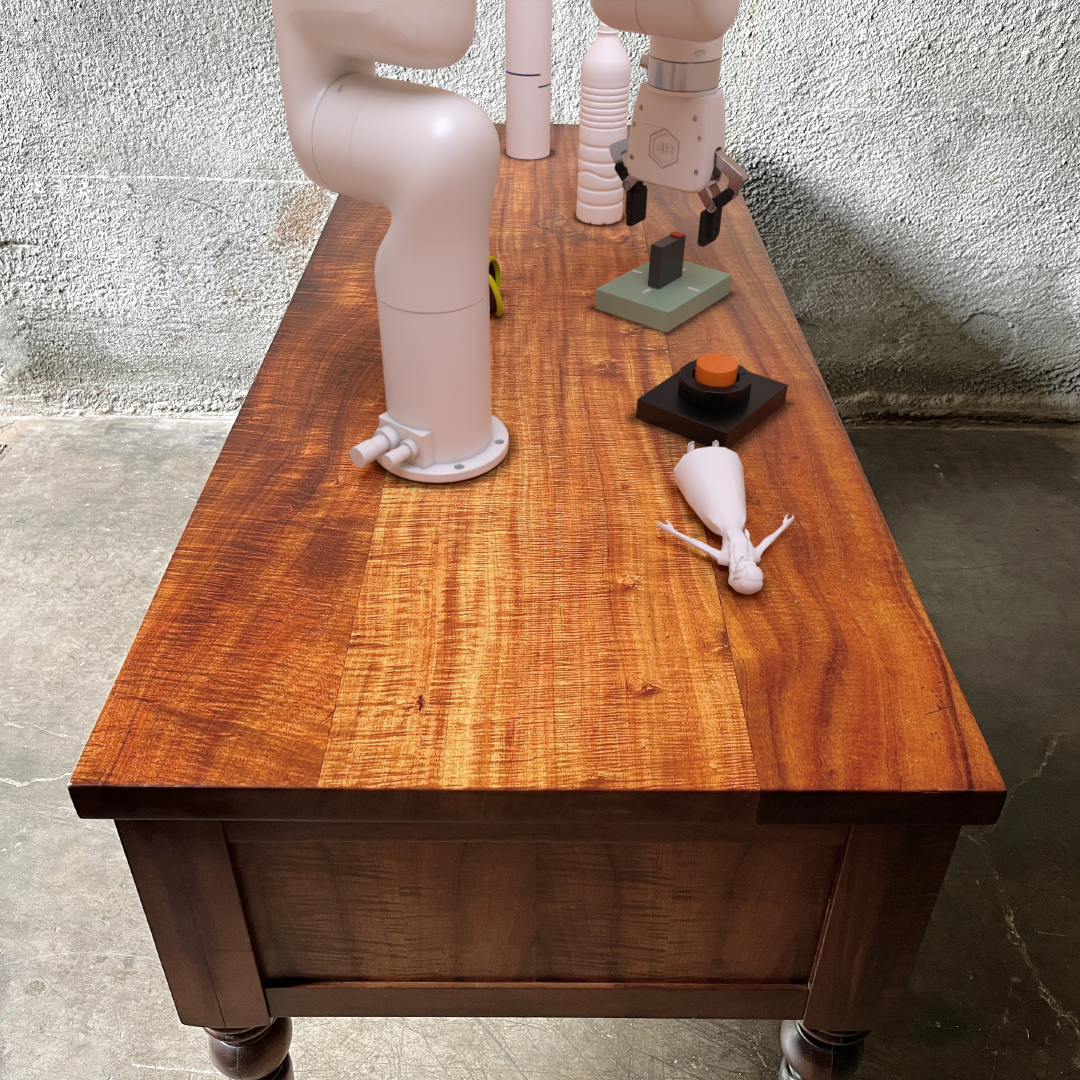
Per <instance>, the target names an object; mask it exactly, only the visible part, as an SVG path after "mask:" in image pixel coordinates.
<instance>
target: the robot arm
mask: <svg viewBox="0 0 1080 1080" xmlns="http://www.w3.org/2000/svg"><path fill="white" fill-rule="evenodd" d="M589 3H590V6H591V8H592V11H593V13H594V14H595V16H596V17H597V19H598V20H599V21H602V22H603V23H604V24H606V25H607V26H609V27H611V28H614V29H617V30H618V31H621V32H624V33H625V32H626V33H632V34H638V35H645V36H649V48H648V49H649V50H648V52H647V54H645V53H644V54H642V55H641V56H640V58H639V67H640V68H642V69H645V70H646V80H647V81H643V82H641V83H639V88H638V92H637V95H636V99H635V103H634V107H633V111H632V117H631V122H630V130H629V136H627V138H626V139H623V140H621V141H618V142H616V143H613V144H611V145H610V146H609V150H610V153H611V156H612V159H613V162H615V171H616V173H617V174H618V176H619V177H620V179H621V180H622V187H623V189H624V191H626V193H625V209H624V211H625V216H626V218H625V225H626V226H627V227H633V226H635V225H637V224H639V223H641V222H643V221H645V220H646V218H647V204H648V185H646V184H649V185H653V186H658V187H660V188H661V187H662V188H665V189H669V190H673V191H677V192H682V193H686V194H697V195H698V197H699V198H700V201H701V203H702V205H703V206H704V209H703V210H701V212H700V214H699V224H698V232H697V233H698V234H697V245H698V247H701V248H704V247H707V246H708V245H709V244H711V243H713V242H715V241H716V240H717V239H718V237H719V235H720V232H721V225H722V224H721V223H722V214H723V208H724V207H726V206H727V205H728V204H729V203H730V202H732V201H733V200H734V199H735V198H737V197H738V196H739V194H740V191H741V190H742V189H743V188H744V186H745V185H746V183H747V181H748V179H749V173H748V172H747V171H746V170H745V169H744V168H743V167H742V166H740V165H739V164H738V163H737V162H736V161H735V160H733V158H731V157H730V156H729V155H728V154H727V153H726V131H727V130H726V125H727V123H726V105H725V104H726V103H725V95H724V89H721V88H719V87H720V76H721V66H722V57H723V46H724V37H725V34H727V32H728V31H729V30H730V29H731V28H732V26H733V24H734V22H735V21H736V18H737V15H738V13H739V10H740V5H741V0H589ZM477 4H478V1H477V0H271V10H272V11H271V12H272V20H273V21H272V22H273V29H274V36H275V44H276V52H277V60H278V67H279V76H280V83H281V91H282V97H283V98H282V100H283V104H284V113H285V119H286V126H287V132H288V136H289V137H288V138H289V141H290V145H291V149H292V152H293V155H294V158H295V159H296V162H297V164H298V165H299V167H300V169H301V171H302V172H303V173H304V175H305V176H306V177H307V178H308V179H309V180H310V181H311V182H312V183H313V184H315V185H317V186H318V187H320V188H322V189H324V190H326V191H329V192H332V193H333V194H338V195H342V196H343V197H344V196H345V197H348V198H351V199H356V200H359V201H363V202H365V203H370V204H373V205H375V206H377V207H381V208H384V209H386V210H388V211H389V212H390V216H391V217H390V223H389V227H388V229H387V231H386V233H385V235H384V237H383V238H382V241H380V245H379V247H378V249H377V252H376V255H375V259H374V287H375V288H374V289H375V294H376V305H377V316H378V327H379V338H380V339H379V340H380V349H381V351H380V352H381V362H382V372H383V383H384V394H385V406H386V407H385V408H386V411H385V412H383V413H381V414H379V415H378V425H379V426H378V427H377V428H376V429H375V431H374V433H373V434H372V435H373V436H372V437H370V438H368V439H366V440H364V441H361V442H360V443H358V444H356V445H354V446H353V447H351V448H350V449H349V451H348V453H349V458H350V460H351V462H352V463H353V464H354V466H356V467H357V468H360V469H362V468H365V467H366V466H367V465H369V464H371V463H373V462H374V461H377V463H378V464H379V465H380V466H381V467H382V468H383V469H385V470H386V471H388V472H390V473H391V474H392V475H393V474H394V475H396V476H398V477H400V478H402V479H407V480H410V481H414V482H421V483H432V484H434V483H435V484H441V483H442V484H443V483H454V482H460V481H465V480H469V479H472V478H475V477H478V476H480V475H483V474H485V473H487V472H489V471H490V470H492V469H494V468H495V467H497V466H498V465H499V464H500V463H501V462H502V461H503V460H504V459H505V457H506V456H507V454H508V450H509V447H510V438H509V437H510V434H509V432H508V429H507V427H506V426H505V424H504V423H503V421H501V420H500V419H499V418H498V417H497V416H495V415H494V414H493V413H492V410H493V409H492V407H493V406H492V358H491V356H492V355H491V314H490V301H489V255H490V232H491V231H490V230H491V221H492V213H493V205H494V198H495V193H496V188H497V182H498V177H499V171H500V163H501V145H500V139H499V134H498V131H497V129H496V126H495V124H494V123H493V121H492V119H491V117H490V116H489V114H488V113H487V112H486V111H485V110H484V109H483V108H482V107H480V105H478V104H477V103H475V101H473V100H471V99H470V98H468V97H466V96H464V95H462V94H459V93H457V92H454V91H453V90H448V89H445V88H441V87H437V86H432V85H428V84H423V83H419V82H418V83H417V82H412V81H408V80H403V79H393V78H389V77H384V76H381V75H377V68H376V63H379V64H384V65H390V66H395V67H401V68H406V69H407V68H408V69H414V70H415V69H416V70H427V71H428V70H439V69H440V70H441V69H446V68H449V67H451V66H453V65H455V64H456V63H458V62H460V61H461V60H462V59H463V58H464V57H465V56H466V54H467V52H469V50H470V48H471V46H472V43H473V40H474V36H475V31H476V22H477V6H478V5H477ZM723 175H725V176H726V177H727V179H728V183H727V185H726V187H725V189H723V187H722V185H721V183H720V182H721V179H722V178H723V177H722V176H723ZM644 183H646V184H644Z"/></svg>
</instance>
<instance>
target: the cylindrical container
mask: <svg viewBox="0 0 1080 1080" xmlns="http://www.w3.org/2000/svg"><path fill="white" fill-rule="evenodd" d="M552 40H553V0H504V42H505V43H504V44H505V45H504V46H505V47H504V48H505V49H504V50H505V52H504V53H505V56H504V57H505V140H506V141H505V144H506V145H505V146H506V149H505V150H506V151H505V152H506V155H507V156H509V157H511V158H513V159H518V160H538V159H543V158H546V157H548V156H550V153H551V110H552V109H551V107H552V106H551V105H552V102H551V101H552V48H553V47H552V45H553V44H552V43H553V41H552Z"/></svg>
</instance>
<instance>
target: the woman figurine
mask: <svg viewBox="0 0 1080 1080" xmlns="http://www.w3.org/2000/svg"><path fill="white" fill-rule="evenodd" d="M672 470H673V476H674V481H675V484H676V486H677V488H678V490H679V491H680V493H681V495H682V496H683V497H684V500H686V502H687V504H688V505H689V506H690V508H691V509H692V510H693V511H694V512H695V514H696V515H697V516H698V518H699V519H700V520H701V521H702V522H703V524H704V525H705V527H707V528H708V529H709V530H710V531H711V533H714V534H715V535H717V536H720V537H722V541H721V543H722V545H721V550H719V549H717V548H714V547H712V546H710V545H709V544H706V543H704V542H703V541H701V540H699V539H696V538H693V537H689V536H688V535H685V534H683V533H681V532H679V531H677V530H676V529H675V528H674V526H673V525H672V523H671V522H670V521H669V520H668V519H665V522H666V523H667V524H664V523H662V522H660V521H659V520H658V521H657V522H656V524H655V525H656V526H657V527H658V528H659V529H660V530H661V531H662V532H664V533H667V534H670V535H673V536H674V537H676V538H677V539H679V540H681V541H683V542H685V543H686V544H687V545H689V546H691V547H693V548H695V549H696V550H697V549H698V550H700V551H701V552H703V553H705V554H706V555H708V556H709V557H711V558H712V559H714V560H715V561H716V562H717V565H720V566H726V567H728V574H729V576H728V579H727V583H728V585H729V586H730V587H731V589H733V590H734V591H735V592H737V593H739V594H743V595H752V594H755V593H758V592H759V591H761V590H762V589H763V586H764V582H763V581H764V573H763V571H762V569H761V567H759V566H757V563H760V562H761V560H762V558H761V556H762V555H763V552H764V551H765V550H766V549H767V548H768V547H769V546H770V545H772V544H773V543H774V542H775V541H776V539H777V538H778V537H779V536H780V535H781V534H782V533H783V532H784V531H785V530H787V528H788V527H790V526H791V524H792V523H793V521H794V520H795V515H794V514H793V515H792V516H791V517H790V518H788V516H789V514H786V515H785V516H784V518H783V520H782V524H781V526H780V527H778V528H777V529H776V530H775V531H774V532H773V533H771V534H769V535H768V536H766V537H764V538H763V539H762V541H760V543H759V544H758V545H757V546H756V547H754V544H753V543H752V541H751V540H750V536H751V534H750V532H749V530H748V529H747V528H746V522H747V503H746V487H745V474H744V465H743V463H742V461H741V458H740V457H739V455H738V453H737V452H735V451H733V450H731V449H730V448H729V449H727V448H725V447H719V442H718V441H717V440H716V441H714V442H713V443H712V447H708V446H705V447H698V448H695V441H693V440H691V441H690V442H688V443H687V447H686V454H684V455H682V457H681V458H680V460H679V461H678V462H677V464H676V465H675V466H674V468H673V469H672Z"/></svg>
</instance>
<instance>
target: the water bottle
mask: <svg viewBox="0 0 1080 1080" xmlns="http://www.w3.org/2000/svg"><path fill="white" fill-rule="evenodd" d="M600 21H601V20H600ZM596 31H597V36H596V37H595V39H594V41H593V42H592V44H591V45H590V47H589V48H588V50H587V52H586V53H585V54H584V56H583V57H582V60H581V66H580V82H581V83H580V104H579V109H580V110H579V127H578V140H579V142H578V149H577V153H578V158H577V170H578V172H577V177H576V178H577V187H576V197H577V199H576V207H575V215H576V218H577V220H579V221H581V222H583V223H585V224H591V225H596V226H603V225H613V224H615V223H618V222H620V221H621V219H622V218H623V213H624V212H623V211H624V200H623V199H624V191H625V190H624V189H623V187H622V180H621V179H620V177H619V176H618V174H617V173H616V171H615V162H613V159H612V156H611V153H610V150H609V146H610V145H611V144H613V143H616V142H618V141H621V140H623V139H626V138H628V121H629V119H628V117H629V103H630V90H631V89H630V88H631V85H630V83H631V77H632V76H631V75H632V64H631V63H632V62H631V58H630V57H629V55H628V53H627V51H626V49H625V47H624V45H623V43H622V42H621V40H620V38H619V36H618V33H619V31H620V30H617V29H614V28H611V27H609V26H607V25H606V24H604V23H603V22H602V21H601V22H599V24H598V29H597V30H596Z"/></svg>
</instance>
